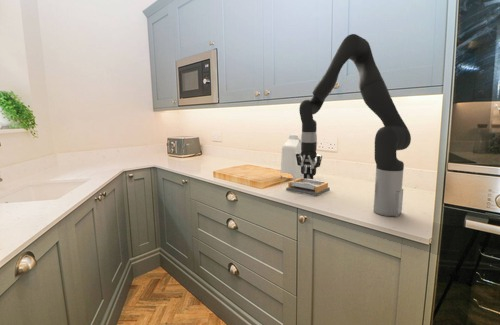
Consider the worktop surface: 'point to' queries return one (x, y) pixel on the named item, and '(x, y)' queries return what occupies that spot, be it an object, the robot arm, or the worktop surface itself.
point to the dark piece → (307, 170)
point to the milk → (291, 157)
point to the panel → (316, 192)
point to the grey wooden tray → (307, 183)
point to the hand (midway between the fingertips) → (308, 174)
